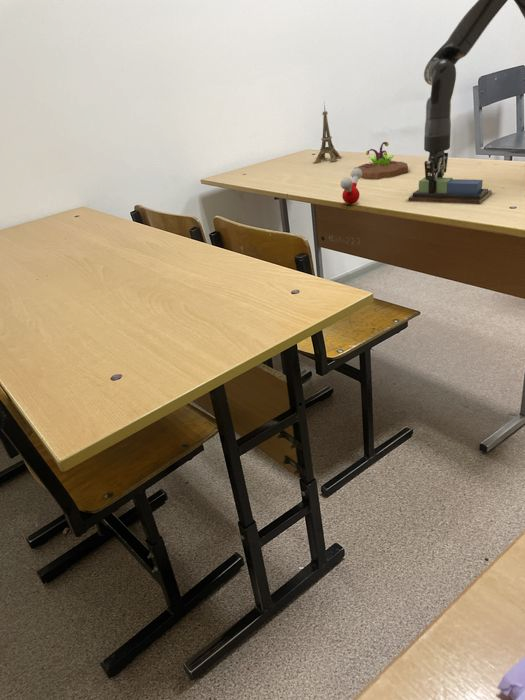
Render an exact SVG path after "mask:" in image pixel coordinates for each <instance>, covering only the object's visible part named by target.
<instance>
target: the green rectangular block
mask: <svg viewBox="0 0 525 700" xmlns="http://www.w3.org/2000/svg"><path fill="white" fill-rule="evenodd" d="M453 179H454V178H453V177H443V178H437V181H436V192H435V193H447V185H448V183H449V182H450V181H451V180H453ZM418 189H419V193H429V192H428V190H429V181H428V180H426V178H425V177H422V178H421V179H420V180H419V181H418Z"/></svg>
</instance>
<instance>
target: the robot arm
mask: <svg viewBox="0 0 525 700" xmlns="http://www.w3.org/2000/svg"><path fill="white" fill-rule="evenodd" d="M508 1H509V0H477V1H476V2H475V3H474V5H472V7H471V8H470V9H469V10H468V11H467V12H466V13H465V15H464V16H463V17H462V18H461V19H460V20H459V22H458V24H457V25H456V27H455V28H454V29H453V31H452V32H451V34H450V35H449V37H448V39H447V40H446V41H445V43H444V44H442V45H441V47H440V48H438V50H437V51H436V52H435V53H434V54H433V55H432V57H431V58H430V59H429V61H428V62H427V63H426V65H425V68H424V71H423V79H424V82H425V83H426V84H427V85H428V86H431V88H430V96H429V97H428V98H427V100H426V103H425V123H424V137H423V150H424V151H425V152H427V153H429V154H428V158H427V160H425V161H424V163H423V164H424V175H425V176H424V178H426V180H428V181H429V190H428V192H429V193H435V192H436V181H437V178H444V176H445V173H446V172H447V168H448V158H449V152H446V151H448V150H450V148H451V134H452V133H451V132H452V121H451V120H452V119H451V114H452V113H451V111H452V98H453V94H454V90H455V86H456V81H457V68H456V64H457V63H458V62H459V60H461V59H463V58H465V57H466V56H467V55H468V54H469V53H470V52H471V50H472V49H473V48H474V46H475V45H476V43H477V42H478V41H479V39H480V38H481V36H482V35H483V33H484V32H485V31H486V30H487V28H488V26H489V25H490V23H492V21H493V20H494V18H495V17H496V16H497V14H499V12H500V10H501V9H502V8H503V7H504V5H505V4H506V3H507V2H508ZM513 1H514V3H515V4H516V6H517V8H518V9H519V11H520V13H521V15H522V17H523V18H524V19H525V0H513Z"/></svg>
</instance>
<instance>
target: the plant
mask: <svg viewBox="0 0 525 700" xmlns="http://www.w3.org/2000/svg"><path fill="white" fill-rule="evenodd" d="M383 146H385V147H389V142H388V141H383V142H382V143H381V145H380V148H379V152H378V150H376V149H374V148H370V149H368V150H367V151H365V155H366V156H368V159H369V160H371V162H370V161H369V162H368V163H364V164H361V165H359V166H356V167H354V168H353V169H355V168H359V169H361V170H362V177H361V178H364V179H369V180H379V179H383V178H391V177H392V178H393V177H395V176H399V175H403V174H406V173H408V172H409V165H408V163H407V162H404V161H397V160H392V159H393V158H394V157H395V154H393V155H390V156H388V152H387V150H383ZM370 152H374V154H375V155H374V156H373V157H372V156H369V155H370Z"/></svg>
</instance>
